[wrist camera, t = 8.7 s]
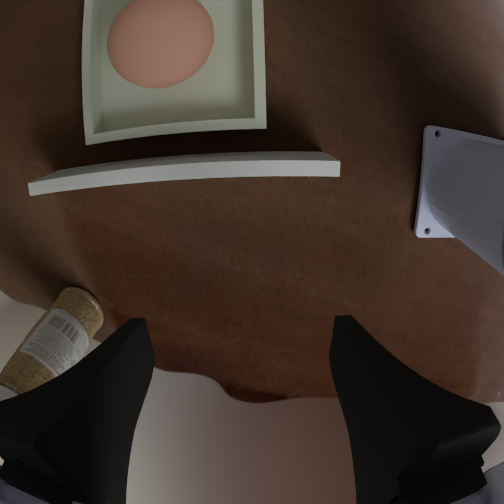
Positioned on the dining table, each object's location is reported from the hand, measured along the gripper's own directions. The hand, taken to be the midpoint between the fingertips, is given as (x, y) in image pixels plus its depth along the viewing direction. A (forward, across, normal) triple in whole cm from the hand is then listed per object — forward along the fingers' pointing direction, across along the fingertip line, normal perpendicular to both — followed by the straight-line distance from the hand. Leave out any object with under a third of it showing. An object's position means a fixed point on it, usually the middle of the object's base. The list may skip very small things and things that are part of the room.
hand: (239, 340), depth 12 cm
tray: (+10, +4, -12) cm, 17 cm away
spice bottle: (+11, +14, +6) cm, 19 cm away
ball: (+7, +4, -12) cm, 15 cm away
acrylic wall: (+10, +4, -5) cm, 12 cm away
